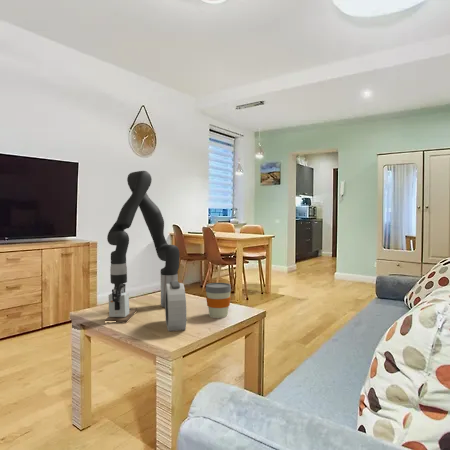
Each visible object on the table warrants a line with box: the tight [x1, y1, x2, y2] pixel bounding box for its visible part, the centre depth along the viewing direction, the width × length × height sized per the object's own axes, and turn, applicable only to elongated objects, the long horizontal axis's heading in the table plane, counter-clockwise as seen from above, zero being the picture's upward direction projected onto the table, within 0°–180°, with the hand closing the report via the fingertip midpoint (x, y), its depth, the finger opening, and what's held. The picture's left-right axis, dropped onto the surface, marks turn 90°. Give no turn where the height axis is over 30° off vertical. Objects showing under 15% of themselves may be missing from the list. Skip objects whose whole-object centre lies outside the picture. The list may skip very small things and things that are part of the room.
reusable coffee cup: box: [205, 282, 232, 319], centre depth 175 cm, size 13×13×15 cm
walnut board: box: [104, 307, 138, 323], centre depth 174 cm, size 10×20×2 cm, turn 0°
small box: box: [108, 292, 130, 317], centre depth 169 cm, size 8×6×10 cm
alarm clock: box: [164, 281, 187, 332], centre depth 159 cm, size 21×8×20 cm, turn 13°
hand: (119, 308), depth 169 cm, fingers closed on small box, 6 cm apart
